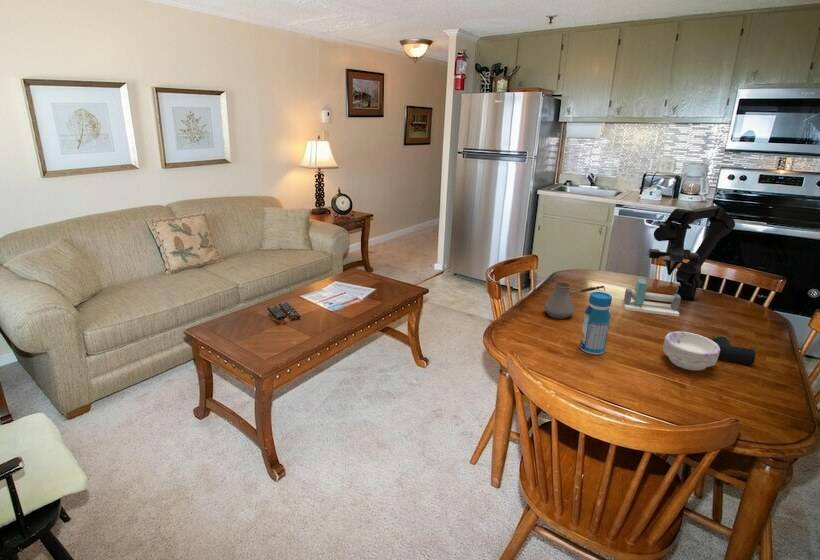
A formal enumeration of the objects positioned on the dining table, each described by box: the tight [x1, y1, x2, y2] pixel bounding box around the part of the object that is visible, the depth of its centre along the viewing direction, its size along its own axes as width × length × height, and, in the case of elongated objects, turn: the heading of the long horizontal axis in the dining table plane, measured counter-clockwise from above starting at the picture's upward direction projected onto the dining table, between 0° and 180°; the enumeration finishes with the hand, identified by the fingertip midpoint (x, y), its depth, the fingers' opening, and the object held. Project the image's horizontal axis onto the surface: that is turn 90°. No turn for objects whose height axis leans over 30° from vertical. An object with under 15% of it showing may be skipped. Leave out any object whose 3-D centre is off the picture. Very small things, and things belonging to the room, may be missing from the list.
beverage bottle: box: [579, 291, 613, 355], centre depth 151 cm, size 8×8×20 cm
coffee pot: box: [544, 281, 606, 319], centre depth 177 cm, size 21×12×15 cm, turn 64°
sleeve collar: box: [633, 278, 648, 305], centre depth 188 cm, size 3×6×9 cm, turn 161°
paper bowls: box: [662, 331, 720, 371], centre depth 145 cm, size 15×15×8 cm
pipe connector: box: [711, 334, 756, 365], centre depth 152 cm, size 12×5×15 cm
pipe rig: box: [622, 288, 682, 318], centre depth 188 cm, size 20×10×7 cm, turn 71°
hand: (669, 274), depth 193 cm, fingers closed
